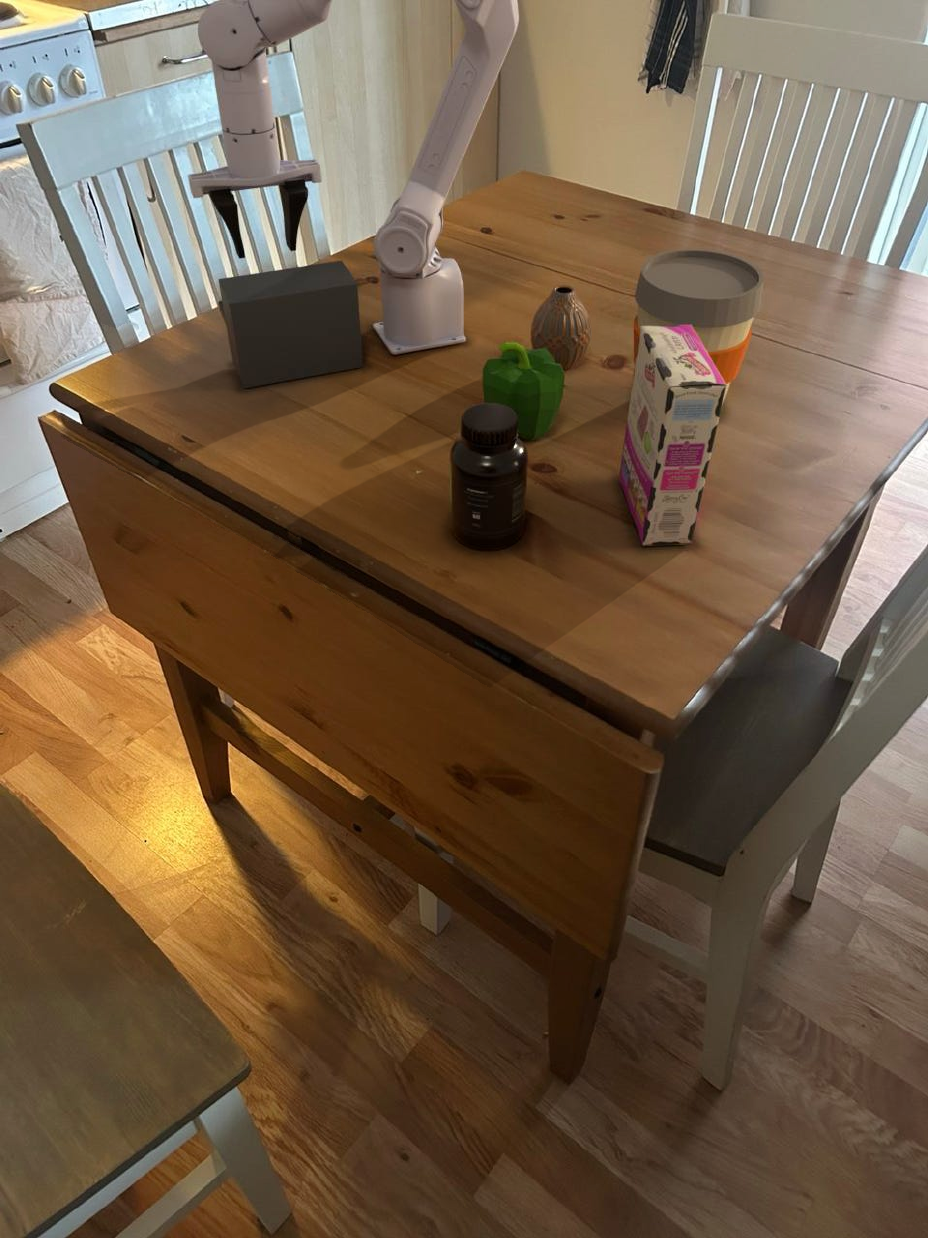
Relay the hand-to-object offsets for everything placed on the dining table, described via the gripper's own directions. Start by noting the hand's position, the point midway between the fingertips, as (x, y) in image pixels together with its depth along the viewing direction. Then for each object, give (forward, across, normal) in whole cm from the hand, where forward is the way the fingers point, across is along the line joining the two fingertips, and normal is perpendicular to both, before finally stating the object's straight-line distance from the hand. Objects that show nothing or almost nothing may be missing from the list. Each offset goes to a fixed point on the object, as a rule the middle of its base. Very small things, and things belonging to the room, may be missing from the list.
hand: (266, 251), depth 113 cm
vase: (+10, -29, +21) cm, 37 cm away
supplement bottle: (+10, -9, +48) cm, 49 cm away
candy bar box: (+10, -25, +51) cm, 57 cm away
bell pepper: (+10, -19, +33) cm, 39 cm away
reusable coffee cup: (+10, -37, +35) cm, 52 cm away
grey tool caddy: (+4, 0, +14) cm, 15 cm away
